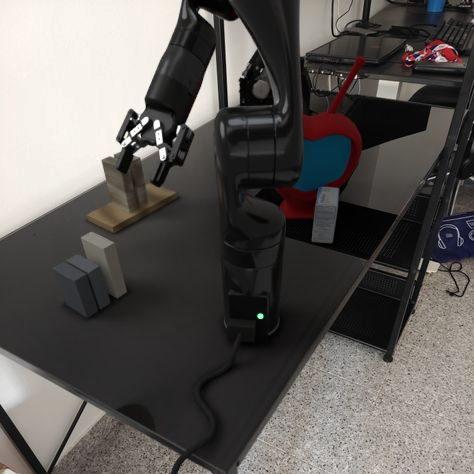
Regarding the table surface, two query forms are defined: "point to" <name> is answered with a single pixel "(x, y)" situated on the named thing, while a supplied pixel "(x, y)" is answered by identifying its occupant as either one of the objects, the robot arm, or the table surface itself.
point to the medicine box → (325, 215)
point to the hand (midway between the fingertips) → (137, 178)
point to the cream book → (105, 262)
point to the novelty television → (324, 155)
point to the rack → (128, 196)
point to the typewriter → (268, 85)
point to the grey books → (82, 285)
